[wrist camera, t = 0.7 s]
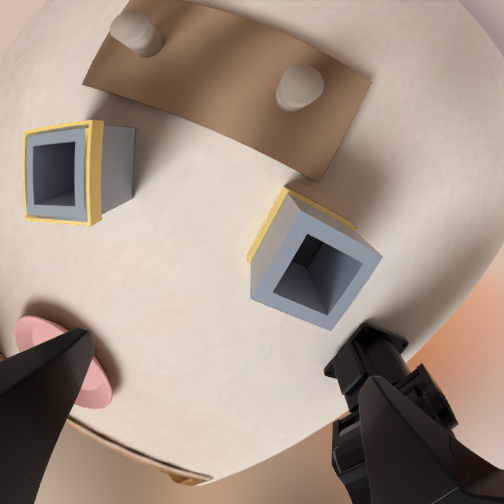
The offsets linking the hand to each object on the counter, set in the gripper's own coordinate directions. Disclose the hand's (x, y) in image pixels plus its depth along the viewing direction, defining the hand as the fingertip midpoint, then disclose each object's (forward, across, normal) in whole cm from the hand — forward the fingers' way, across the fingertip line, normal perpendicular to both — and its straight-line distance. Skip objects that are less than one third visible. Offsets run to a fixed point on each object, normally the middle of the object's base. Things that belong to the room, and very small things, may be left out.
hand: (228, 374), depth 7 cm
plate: (+12, +18, +18) cm, 28 cm away
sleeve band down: (+12, -4, -1) cm, 13 cm away
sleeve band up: (+12, +11, -4) cm, 17 cm away
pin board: (+12, +4, -11) cm, 17 cm away
